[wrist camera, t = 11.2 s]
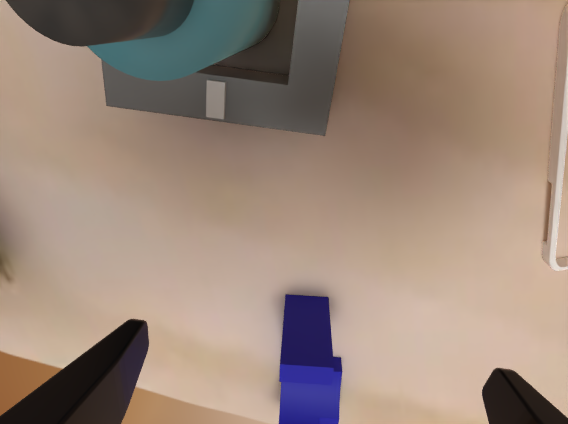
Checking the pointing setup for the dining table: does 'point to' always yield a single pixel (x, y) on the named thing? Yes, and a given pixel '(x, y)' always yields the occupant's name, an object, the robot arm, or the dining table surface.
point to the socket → (252, 82)
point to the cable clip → (308, 363)
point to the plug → (153, 30)
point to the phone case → (558, 147)
